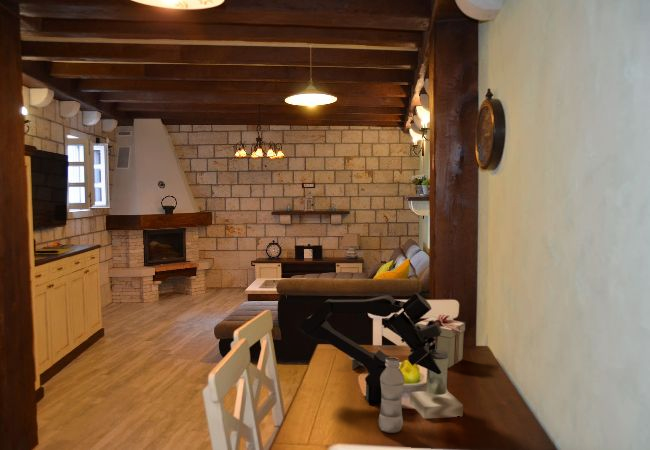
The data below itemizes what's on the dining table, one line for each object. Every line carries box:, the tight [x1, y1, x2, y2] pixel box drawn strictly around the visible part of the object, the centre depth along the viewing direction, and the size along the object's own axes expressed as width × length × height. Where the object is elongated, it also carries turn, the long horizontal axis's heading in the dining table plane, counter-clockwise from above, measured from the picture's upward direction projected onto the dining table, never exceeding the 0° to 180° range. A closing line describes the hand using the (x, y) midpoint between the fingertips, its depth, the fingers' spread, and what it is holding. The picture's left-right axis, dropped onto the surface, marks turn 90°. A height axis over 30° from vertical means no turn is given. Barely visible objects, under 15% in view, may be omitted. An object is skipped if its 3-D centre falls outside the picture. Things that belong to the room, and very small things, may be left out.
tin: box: [425, 349, 448, 395], centre depth 162 cm, size 6×6×12 cm
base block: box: [409, 389, 464, 420], centre depth 163 cm, size 12×12×4 cm
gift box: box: [414, 314, 467, 369], centre depth 212 cm, size 17×18×17 cm
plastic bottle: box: [378, 356, 405, 434], centre depth 147 cm, size 6×7×20 cm
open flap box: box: [348, 356, 364, 370], centre depth 202 cm, size 12×18×7 cm, turn 147°
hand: (441, 370), depth 162 cm, fingers closed on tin, 6 cm apart
